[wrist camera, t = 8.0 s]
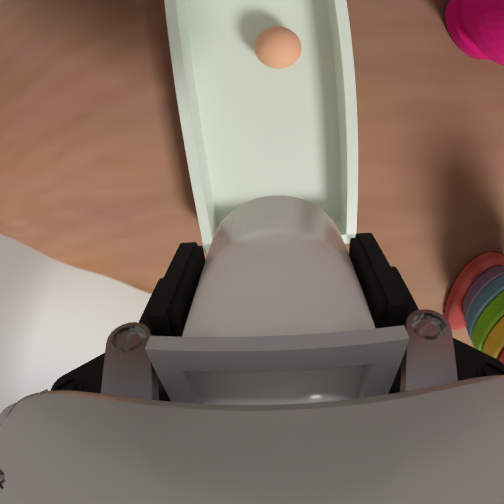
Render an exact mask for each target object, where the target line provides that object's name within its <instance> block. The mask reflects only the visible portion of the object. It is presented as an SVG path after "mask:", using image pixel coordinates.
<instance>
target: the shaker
mask: <svg viewBox="0 0 504 504" xmlns="http://www.w3.org/2000/svg"><path fill="white" fill-rule="evenodd" d="M409 339H410V338H409V336H408V333H407V331H406V329H405V326H404V325H402V326H394V327H385V328H375V325H374V322H373V319H372V316H371V313H370V310H369V307H368V305H367V302H366V299H365V296H364V293H363V291H362V288H361V285H360V283H359V280H358V277H357V274H356V272H355V269H354V267H353V264H352V261H351V259H350V256H349V254H348V251H347V249H346V246H345V244H344V241H343V239H342V236H341V234H340V232H339V230H338V228H337V226H336V224H335V223H334V222H333V220H332V219H331V218H330V217H329V216H328V215H327V214H326V213H325V212H324V211H323V210H322V209H320V208H319V207H317V206H316V205H314V204H312V203H310V202H308V201H305V200H303V199H300V198H296V197H291V196H284V195H273V196H265V197H260V198H256V199H253V200H251V201H248V202H246V203H244V204H242V205H240V206H238V207H237V208H236V209H234V210H233V211H232V212H230V213H229V214H228V215H227V216H226V217H225V218H224V219H223V221H222V222H221V223H220V225H219V226H218V228H217V230H216V232H215V235H214V237H213V240H212V243H211V246H210V249H209V252H208V255H207V258H206V261H205V264H204V267H203V270H202V273H201V277H200V280H199V283H198V286H197V289H196V292H195V295H194V298H193V302H192V305H191V308H190V311H189V315H188V318H187V321H186V324H185V328H184V331H183V334H182V337H171V336H150V337H149V340H148V342H147V345H146V347H145V350H146V352H147V355H148V357H149V359H150V361H151V363H152V365H153V367H154V369H155V371H156V373H157V375H158V377H159V379H160V381H161V383H162V385H163V387H164V389H165V391H166V392H167V394H168V396H169V398H170V400H171V402H182V403H198V404H224V405H275V404H299V403H315V402H327V401H338V400H348V399H357V398H365V397H373V396H380V395H387V394H388V393H389V391H390V389H391V386H392V384H393V381H394V379H395V376H396V374H397V371H398V369H399V366H400V364H401V361H402V358H403V356H404V353H405V350H406V347H407V344H408V342H409Z"/></svg>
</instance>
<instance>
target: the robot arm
mask: <svg viewBox="0 0 504 504" xmlns="http://www.w3.org/2000/svg"><path fill="white" fill-rule="evenodd" d="M349 256H350V259H351V261H352V264H353V267H354V269H355V272H356V274H357V277H358V280H359V283H360V285H361V288H362V291H363V293H364V296H365V299H366V302H367V305H368V307H369V310H370V313H371V316H372V319H373V322H374V325H375V328H385V327H394V326H402V325H404V326H405V329H406V331H407V333H408V336H409V338H410V339H409V342H408V344H407V347H406V350H405V353H404V356H403V358H402V361H401V364H400V366H399V369H398V371H397V374H396V376H395V379H394V381H393V384H392V386H391V389H390V391H389V393H388V394H387V395H380V396H373V397H365V398H357V399H348V400H338V401H327V402H315V403H299V404H275V405H224V404H198V403H182V402H171V400H170V398H169V396H168V394H167V392H166V391H165V389H164V387H163V385H162V383H161V381H160V379H159V377H158V375H157V373H156V371H155V369H154V367H153V365H152V363H151V361H150V359H149V357H148V355H147V352H146V350H145V347H146V345H147V342H148V340H149V337H150V336H171V337H182V334H183V331H184V328H185V324H186V321H187V318H188V315H189V311H190V308H191V305H192V302H193V298H194V295H195V292H196V289H197V286H198V283H199V280H200V277H201V273H202V270H203V267H204V264H205V257H204V252H203V248H202V246H198V245H197V243H196V242H191V243H181V244H180V245H179V247H178V249H177V251H176V253H175V255H174V258H173V260H172V262H171V264H170V266H169V268H168V270H167V272H166V274H165V276H164V278H161V279H160V280H159V281H158V283H157V285H156V287H155V289H154V291H153V293H152V295H151V297H150V300H149V302H148V304H147V306H146V308H145V310H144V313H143V314H142V317H141V319H140V321H139V323H137V322H133V323H127V324H124V325H121V326H119V327H118V328H116V329H115V330H114V331H113V332H112V333H111V334H110V336H109V337H108V339H107V343H106V350H105V353H104V354H102V355H100V356H98V357H96V358H95V359H93V360H91V361H89V362H88V363H85V364H83V365H82V366H80V367H78V368H76V369H74V370H72V371H71V372H69V373H67V374H65V375H63V376H62V377H60V378H59V379H58V380H57V381H56V382H55V383H54V385H53V387H52V388H51V391H48V390H47V389H46V390H44V391H42V392H40V393H35V394H32V395H29V396H26V397H24V398H22V399H21V400H19V401H18V402H17V403H14V404H12V405H10V406H8V407H7V408H5V409H4V410H3V412H2V413H1V415H0V504H504V364H503V363H502V362H501V361H499V360H498V359H496V358H494V357H492V356H490V355H488V354H486V353H483V352H481V351H479V350H477V349H475V348H473V347H471V346H469V345H467V344H465V343H463V342H461V341H459V340H456V339H454V338H453V337H452V331H451V326H450V324H449V322H448V320H447V319H446V318H445V317H444V316H443V315H441V314H440V313H438V312H435V311H432V310H427V309H426V310H419V309H418V307H417V305H416V303H415V301H414V299H413V297H412V296H411V294H410V292H409V290H408V288H407V286H406V284H405V282H404V281H403V279H402V277H401V275H400V273H399V272H398V270H397V268H396V267H394V266H393V267H390V265H389V263H388V261H387V259H386V258H385V256H384V254H383V252H382V250H381V249H380V247H379V245H378V243H377V242H376V240H375V238H374V236H373V235H372V233H359V234H356V235H355V238H351V239H350V248H349Z"/></svg>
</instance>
